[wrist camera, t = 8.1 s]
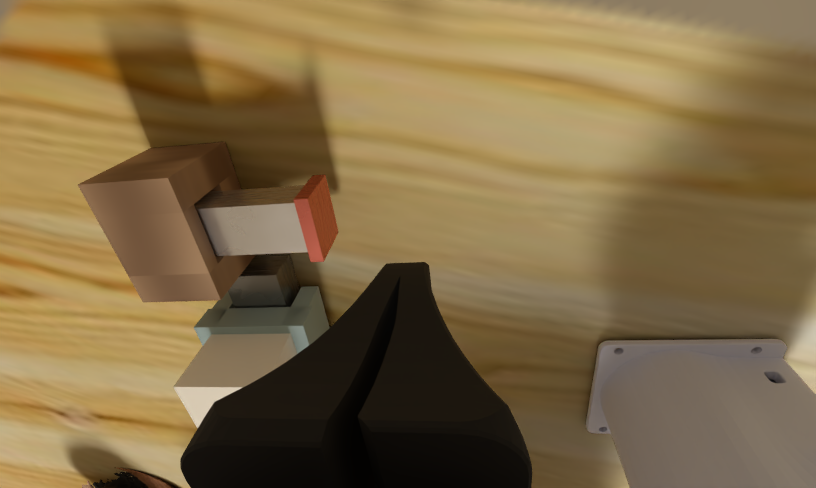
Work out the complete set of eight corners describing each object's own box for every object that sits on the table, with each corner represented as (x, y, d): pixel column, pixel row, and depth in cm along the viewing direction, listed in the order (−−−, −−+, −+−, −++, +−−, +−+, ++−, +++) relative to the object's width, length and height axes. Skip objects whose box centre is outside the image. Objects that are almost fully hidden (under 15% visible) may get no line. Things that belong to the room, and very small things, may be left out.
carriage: (321, 286, 23) (277, 379, 18) (338, 349, 26) (305, 449, 20) (224, 289, 24) (152, 379, 19) (250, 350, 27) (194, 446, 21)
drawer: (325, 174, 19) (307, 198, 16) (338, 232, 20) (323, 261, 18) (211, 182, 20) (180, 206, 17) (232, 237, 21) (205, 266, 19)
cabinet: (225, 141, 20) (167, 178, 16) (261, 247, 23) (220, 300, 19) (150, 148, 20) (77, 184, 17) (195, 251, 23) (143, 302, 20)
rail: (289, 254, 23) (275, 275, 21) (346, 442, 31) (340, 467, 30) (239, 256, 23) (221, 277, 22) (309, 441, 32) (300, 466, 30)
